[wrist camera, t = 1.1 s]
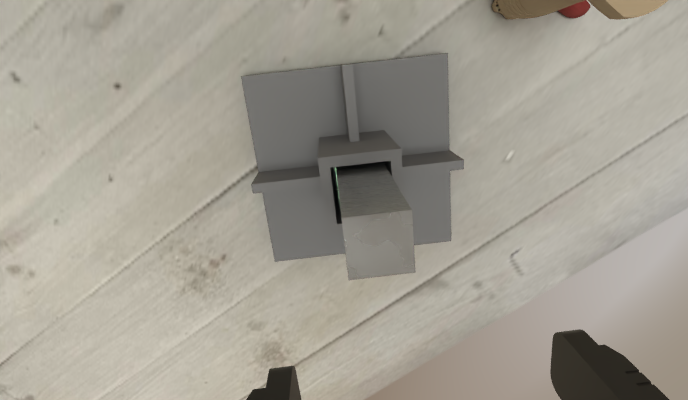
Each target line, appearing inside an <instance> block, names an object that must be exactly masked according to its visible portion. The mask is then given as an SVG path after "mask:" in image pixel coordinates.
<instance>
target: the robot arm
mask: <svg viewBox="0 0 688 400" xmlns="http://www.w3.org/2000/svg"><path fill="white" fill-rule="evenodd" d="M551 379H552V383H553V386H554V388H555V391H556V392H557V394H558V396H559V397H560V398H561V400H669V399H668V398H667V397H666V396H665V395H664V394H663V393H662V392H661V391H660V390H659V389H658V388H657V387H656V386H655V385H652V384H651V382H650V380H648V379H647V378H646V377H645V376H644V375H643V374H642V373H639V370H638V369H637V368H636V367H635V366H634V365H633V364H632V363H631V362H630V361H629V360H628V359H627V358H626V357H624V356H623V355H622V354H620V353H618V352H616V351H615V350H613V349H611V348H610V347H608V346H606V345H598V344H597V343H596V342H595V341H594V340H593V339H592V338H591V337H590V336H589V335H588V334H587V333H586V332H585V331H583V330H572V331H564V332H557V333H555V334H554V336H553V344H552V358H551ZM246 400H301V395H300V390H299V385H298V380H297V375H296V370H295V367H294V366H288V367H280V368H273V369H270V370H269V374H268V379H267V385H266V388H261V389H254V390H253V391H252V392H251V393H250V395H249V396H248V398H247V399H246Z"/></svg>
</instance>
